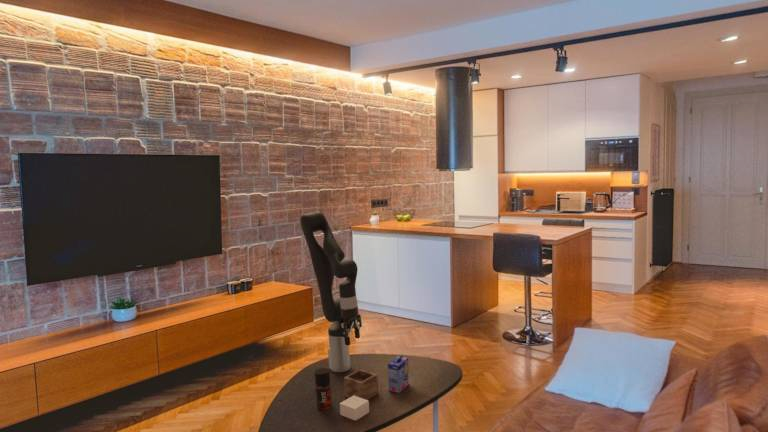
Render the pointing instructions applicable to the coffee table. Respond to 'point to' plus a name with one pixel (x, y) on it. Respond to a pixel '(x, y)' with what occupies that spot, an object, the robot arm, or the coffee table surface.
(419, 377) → the coffee table surface
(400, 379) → the ink cartridge box
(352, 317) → the robot arm
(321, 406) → the deodorant
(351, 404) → the offwhite block
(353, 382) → the wooden box
